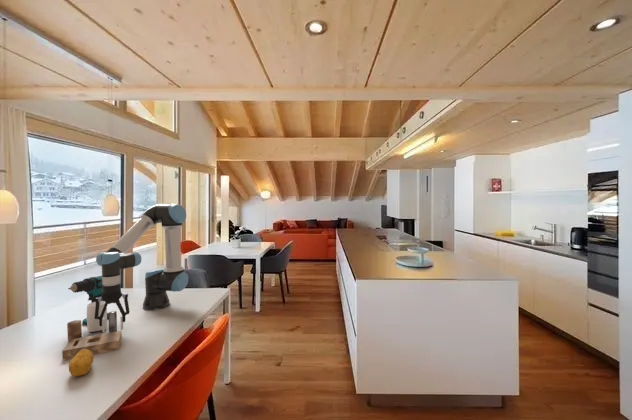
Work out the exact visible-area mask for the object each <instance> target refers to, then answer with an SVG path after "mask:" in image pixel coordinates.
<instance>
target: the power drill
mask: <svg viewBox="0 0 632 420" xmlns="http://www.w3.org/2000/svg"><path fill="white" fill-rule="evenodd" d="M102 286H103V284H102V275H99V276H90V277H88V278H84V279H83V280H79V281H75V282H73V283H71V286H70V287H68V288H67V289H68V290H70V291H71V292H73V293H82V292H85V293H86V294H87V295H88V298H87V301H91V302H90V303H92V302H95V299H96V298H97V297H98V298H99V297H102V294H103V292H102ZM101 301H104V300H103V299H101ZM108 313H109V312H107V320H108ZM82 324H83V325H84V324H87V317H85V318H84V319H83V320H81V325H82Z"/></svg>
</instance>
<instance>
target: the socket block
mask: <svg viewBox="0 0 632 420" xmlns="http://www.w3.org/2000/svg"><path fill="white" fill-rule="evenodd" d="M122 332H123V330H117V331H116V332H110V333H109V332H106V333H105V332H104V333H99V334H93V335H88V336H82V337H81V338H76V339H70V340H69V341H68V340H67V343H66V345H64V347H63V349H62V350H61V351H62V352H61V353H62V354H61V357H62V361H66V360H72V359H73V357H74V356H75V355H76V354H77V353H78V352H79V351H81V350H83V349H88V350H90V351H91V352H92V355H96V354H102V353H107V352H113V351H119V350H120V347H121V343H122V339H123V337H122V336H123V335H122Z"/></svg>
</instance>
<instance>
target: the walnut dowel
mask: <svg viewBox="0 0 632 420" xmlns="http://www.w3.org/2000/svg"><path fill="white" fill-rule="evenodd" d="M66 327H67V330H66V331H67V342H68V341H69V340H70V339H76V338H81V337H83V334H82V333H83V330H82V320H81V319H76V320H72V321H69V322H67V325H66Z"/></svg>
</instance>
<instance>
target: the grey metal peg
mask: <svg viewBox="0 0 632 420" xmlns="http://www.w3.org/2000/svg"><path fill="white" fill-rule="evenodd" d="M107 313H108V319H107V322H108V333H110V332H116V331H118V319H117V317H118V315H117V311H116V310H112V311H109V312H107Z"/></svg>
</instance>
